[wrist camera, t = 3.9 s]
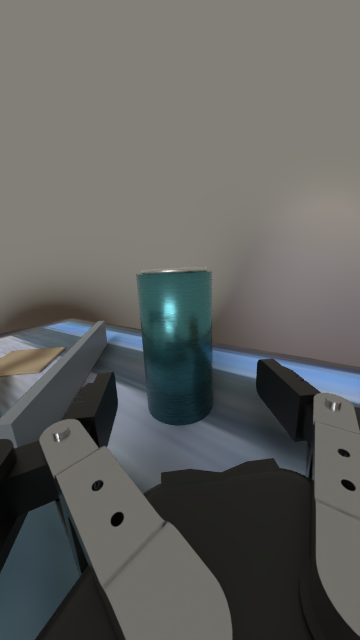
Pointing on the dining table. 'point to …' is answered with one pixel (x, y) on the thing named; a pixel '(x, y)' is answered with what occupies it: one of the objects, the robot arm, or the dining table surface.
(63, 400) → the acrylic wall
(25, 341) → the dining table surface
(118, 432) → the dining table surface
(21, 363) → the coaster
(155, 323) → the can
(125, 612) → the robot arm
